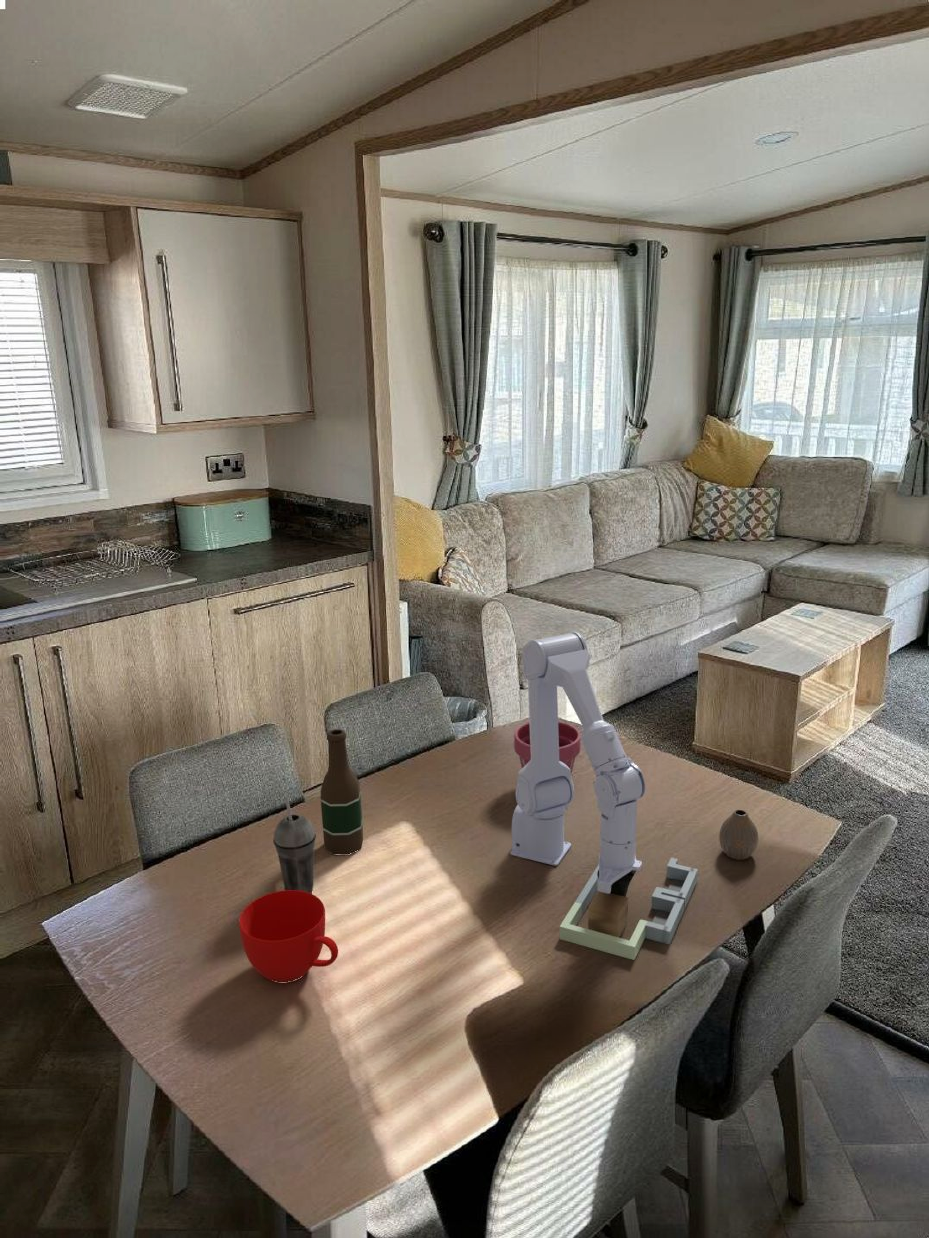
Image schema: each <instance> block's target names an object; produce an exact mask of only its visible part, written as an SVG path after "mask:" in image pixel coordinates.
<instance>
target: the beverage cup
mask: <svg viewBox="0 0 929 1238" xmlns="http://www.w3.org/2000/svg"><path fill="white" fill-rule="evenodd" d="M284 799H285V804H286V809H287V810H286V811H287V814H288V815H286V816H285V817H283V818H281V820H280V821H279V822H278V823H277V824H276V826H275V829H274V832H273V842H272V843H273V845H274V847H275V850H276V852H277V856H278V861H279V866H280V871H281V876H282V881H283V886H284V890H298V891H304V892H308V893H311V894H312V891H313V892H314V889H313V888H314V864H315V863H314V858H315V857H314V849H315V844H316V837H317V835H316V832H315V829H314V826H313V824H312V822H311V821H310V820H309V819H308V818H306V817H305V816H303V815H301V814H297V813H295V814H293V813H292V811H291V806H290V801H289V796H284Z"/></svg>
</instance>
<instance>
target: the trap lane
mask: <svg viewBox="0 0 929 1238" xmlns="http://www.w3.org/2000/svg"><path fill="white" fill-rule="evenodd" d="M678 861H679V859H678V858H675V857H670V859H669V861H668V863H667V865H666V877H665V878H667V879H671V882H670V884H669V886H668V888H664V887H660V886H656V887H655V889H654V891H653V893H652V895H651V906H650V907H651V909H654V910H656V914H655V915H654V917H653V920H652V921H648V920H645V919H639V921H638V923H637V925H636V927H635V929H634V931H633V933H632V934H631V937H630V939H629V940H628V939H625V938H621V937H619V938H618V937H615V936H611V935H607V934H604V933H600V932H596V931H593V930H589V929H588V928H585V927H582V926H577V925H578V923H579V921H580V920H581V918H582V917H583V914H584V913H585V911H586V909H587V908H588V907H589V905H590V903H591V902H592V900H593V899H594V897H595V896H596V894H597V892H598V891H597V887H598V876H597V872H598V870H599V864H598V865H597V867H596V868H595V870H594V871H593V873H592V874H591V876H590V878H589V879H588V881H587V882H586V883H585V886H584V887H583V889H582V890H581V892H580V893H579V895H578V897H577V898H576V900H575V901H574V903H572V906H571V908H570V909H569V910H568V912H567V914H566V916H565V917H564V919H563V920H562V922H561V923H560V925H559V940H562V941H565V942H569V943H572V944H576V945H580V946H583V947H587V948H591V949H595V950H597V951H601V952H604V953H608V954H612V955H615V956H618V957H623V958H625V959H629V960H633V961H635V959H636V958H637V955H638V953H639V951H640V949H641V948H642V945H643V944H644V941H645V939H647V940H651V941H655V942H659V943H663V944H666V945H671V942H672V940H673V938H674V936H675V933H676V931H677V929H678V926H679V924H680V921H681V919H682V917H683V915H684V912H685V911H686V907H687V905H688V903H689V901H690V898H691V896H692V895H693V892H694V890H695V887H696V885H697V882H698V874H699V873H698V871H699V869H697V868H694V867H689V866H686V865H681V864H679V863H678ZM684 910H685V911H684Z"/></svg>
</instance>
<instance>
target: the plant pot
mask: <svg viewBox="0 0 929 1238" xmlns="http://www.w3.org/2000/svg"><path fill="white" fill-rule="evenodd" d="M558 735H559V761H561V762H563V763H564V764H566V765H567V766H568V767H569V769H570V770H571V775H572V772H573V768H574V764H575V762H576V761H575V760H576V757H577V756H579V755H580V752H581V744H582V740H581V733H580V731H579V729H577V728H576V726H574V725H572V724H569V723H567V722H562V721H559V720H558ZM513 737H514V741H513V742H514V743H513V749H514V752H515V753H516V754H517V756H518V757H519V763H520V767H521V769H522V768H523V767H524V766H525V765H526V764H527V763H528V762H529V761H530V760H531V749H530V723H529V722H525V723H523V724H521V725H520V726H518V727H517V728H516V730H515V732H514V736H513Z"/></svg>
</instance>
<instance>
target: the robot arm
mask: <svg viewBox="0 0 929 1238" xmlns="http://www.w3.org/2000/svg"><path fill="white" fill-rule="evenodd" d="M590 656H591V655H590V653H589V649H588V644H587V642H586V639H585V638H584V637H583V635H581V634H580V633H579V632H577V631H570V632H569V633H565V634H559V635H555V636H550V637H544V638H543V637H542V638H539V639H530V640H529V641H527V643H526V644H525V645H524V646H523V647H522V666H523V669H522V670H523V679H524V680H527V691H528V693H527V694H528V697H527V698H528V715H529V717H528V718H529V719H528V721H529V723H530V749H531V760H530V761H529V762H528V763H527V764H526V765H525V766H524V767H523V768H522V767H521V769H520V770H519V772H518V773H517V784H516V788H515V793H514V794H515V799H516V803H517V805H516V806H515V809H514V811H513V814H512V819H511V850H510V853H509V854H510V855H511V856H515V857H519V858H522V859H526V860H531V861H535V862H539V863H543V864H545V865H546V864H547V865H552V866H555V867H556V866H558V865H559V864H560V863H561V861H562V860H563V858H564V856H565V855H566V854H567V853H568V852H569V850H570V848H571V847H572V843H571V842H568V841H565V811H566V810H567V811H568V809H569V808H568V807H569V804H572V803H573V801H574V798H575V792H576V791H575V785H574V781H573V780H572V779H573V778H572V774H571V770H570V769H569V767H568V766H567V765H566V764H564V763H563V762H561V761H559V735H558V721H559V715H558V714H559V712H558V711H559V708H558V706H559V703H558V702H559V701H558V687H561V688H562V689H563V691H564V693H565V695H566V697H567V699H568V700H569V703H570V704H571V706H572V708H573V710H574V712H575V714H576V716H577V718H578V719H579V721H580V724H581V726H582V728H583V731H582V734H581V735H580V739H581V744H582V745H583V748H584V749H585V752H586V755H587V757H588V759H589V762H590V764H591V766H592V769H593V771H594V774H595V776H596V779H595V781H593V789H594V793H595V796H596V799H597V808H598V811H599V812H600V834H599V835H600V837H599V840H600V841H599V842H600V843H599V855H598V865H599V870H598V872H597V876H598V887H597V891H596V892H598V891H600V892H603V893H608V894H610V893H612V894H616V895H620V896H624V897H627V893H628V889H629V886H630V884H631V881H632V879H633V878H634V876H635V874H636V872H637V871H640V870H641V869H642V867H643V862H642V861H641V860H638V859H637V858H636V857H637V856H636V843H637V840H636V838H637V836H636V835H637V815H638V813H637V810H638V799H641V798H643V796H644V795H645V793H646V781H645V777H644V775H643V771H642V770H641V768H640V767H639V766H638V765H637V764H635V762H634V761H633V759H632V758H630V757H627V754H626V753H625V752H626V751H625V749H624V748H623V745H622V743H621V741H620V739H619V736H618V733H617V731H616V729H615V727H614V725H613V724H612V723H609V722H607V721H605V720H604V717H603V715H602V712H601V708H600V705H599V702H598V699H597V697H596V693H595V690H594V688H593V685H592V684H593V683H592V681H591V679H590V675H589V673H588V668H589V667H590V666H589V665H590V659H591V657H590Z"/></svg>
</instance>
